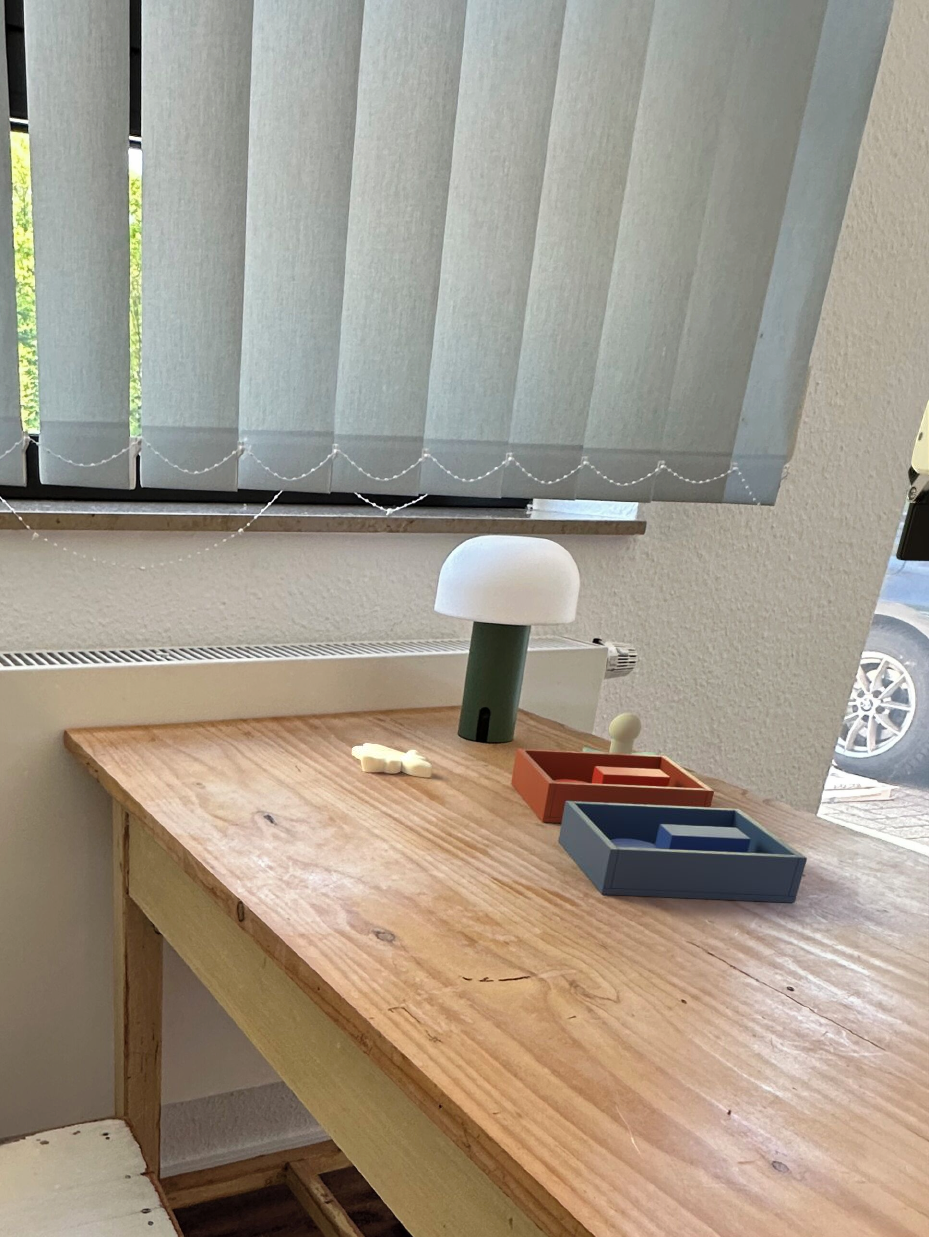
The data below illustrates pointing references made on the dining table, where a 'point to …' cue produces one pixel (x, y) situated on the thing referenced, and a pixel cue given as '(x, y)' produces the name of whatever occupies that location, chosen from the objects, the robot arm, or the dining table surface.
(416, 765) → the acanthus leaf ornament
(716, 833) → the blue disc paddle
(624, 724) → the pacifier
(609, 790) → the red bin
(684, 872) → the blue bin
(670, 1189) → the dining table surface
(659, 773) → the red disc paddle
